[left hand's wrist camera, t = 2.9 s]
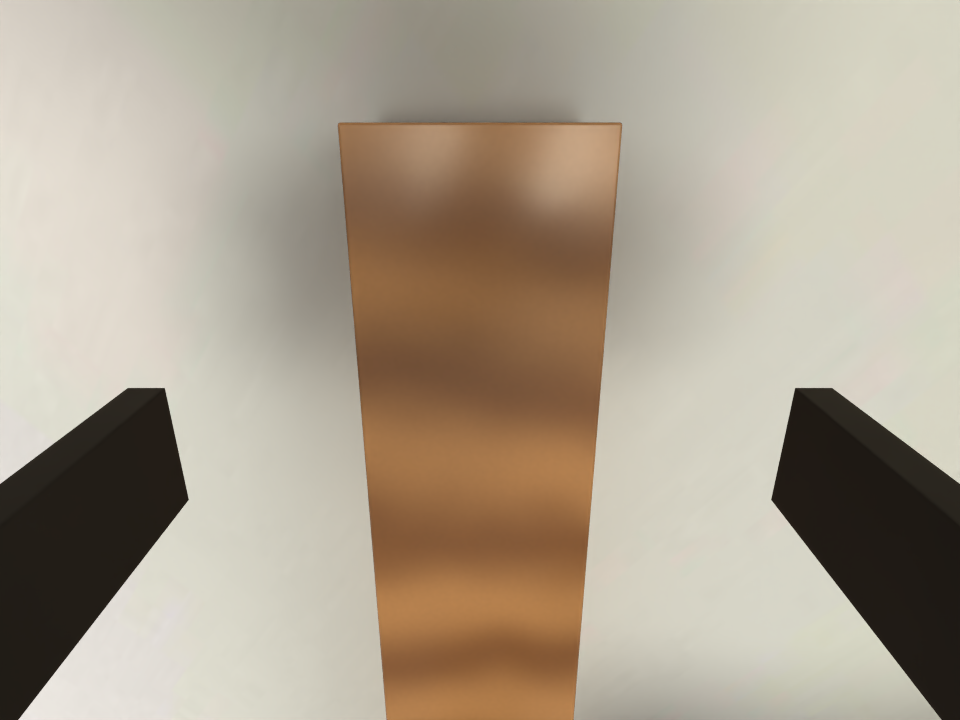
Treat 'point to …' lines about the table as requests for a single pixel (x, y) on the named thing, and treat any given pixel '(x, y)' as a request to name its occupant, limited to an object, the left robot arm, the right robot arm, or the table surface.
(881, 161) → the table surface
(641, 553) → the table surface
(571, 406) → the wooden grain beam
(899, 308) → the table surface
